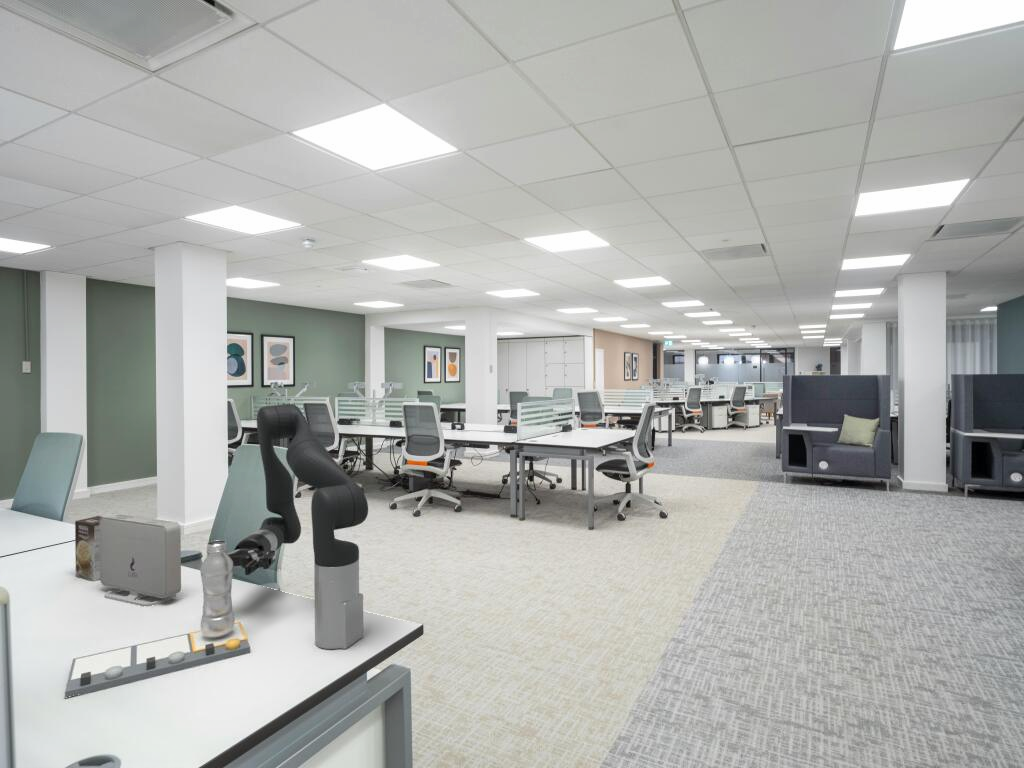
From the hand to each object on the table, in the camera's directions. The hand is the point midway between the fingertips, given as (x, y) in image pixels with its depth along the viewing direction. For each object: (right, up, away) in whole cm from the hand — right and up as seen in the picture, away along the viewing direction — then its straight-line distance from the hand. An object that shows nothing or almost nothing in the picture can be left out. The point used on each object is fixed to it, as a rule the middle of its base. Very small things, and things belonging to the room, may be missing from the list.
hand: (227, 571), depth 125 cm
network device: (-33, -14, +21) cm, 42 cm away
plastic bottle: (0, -13, -4) cm, 13 cm away
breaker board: (-7, -14, -11) cm, 19 cm away
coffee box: (-56, -14, +36) cm, 68 cm away
